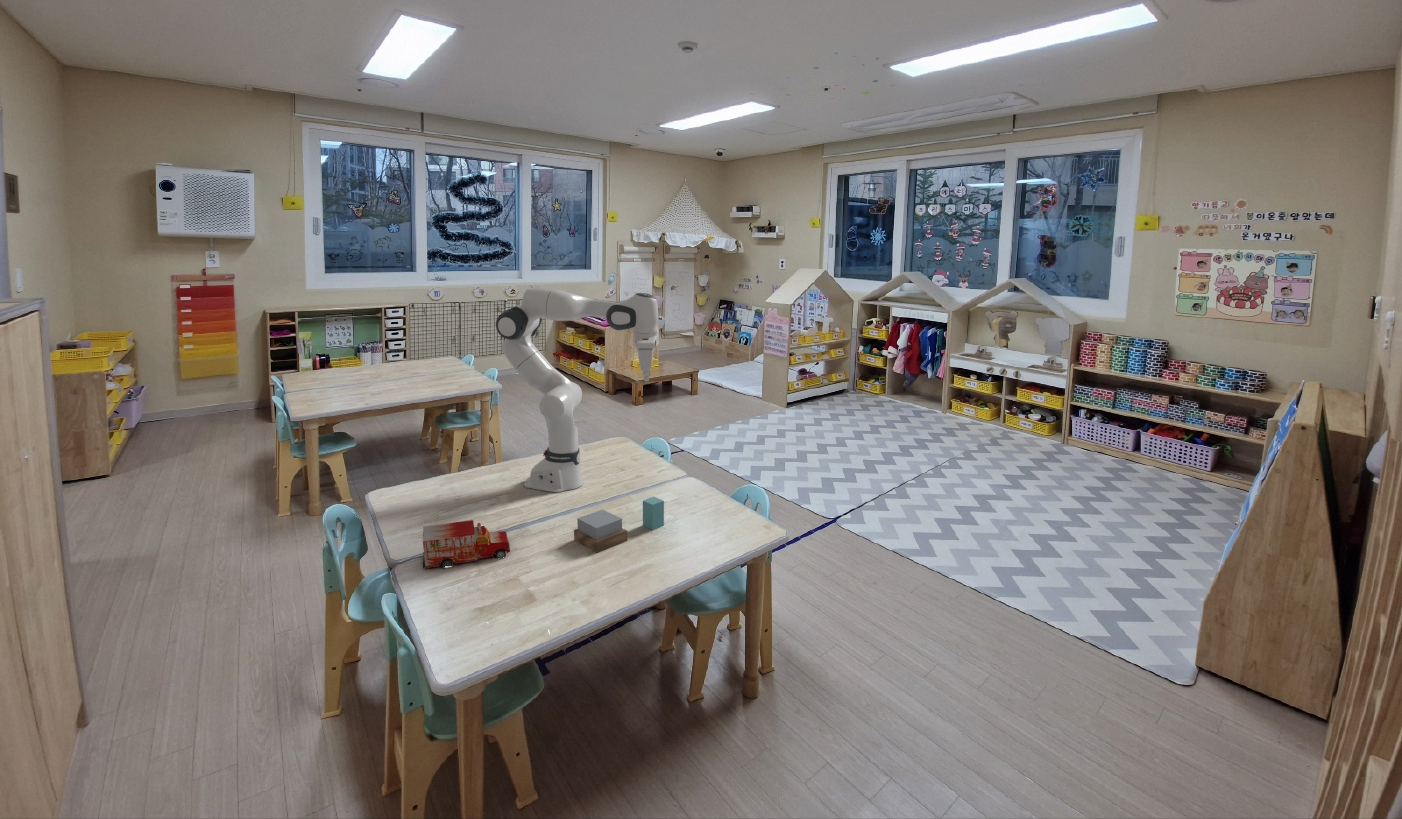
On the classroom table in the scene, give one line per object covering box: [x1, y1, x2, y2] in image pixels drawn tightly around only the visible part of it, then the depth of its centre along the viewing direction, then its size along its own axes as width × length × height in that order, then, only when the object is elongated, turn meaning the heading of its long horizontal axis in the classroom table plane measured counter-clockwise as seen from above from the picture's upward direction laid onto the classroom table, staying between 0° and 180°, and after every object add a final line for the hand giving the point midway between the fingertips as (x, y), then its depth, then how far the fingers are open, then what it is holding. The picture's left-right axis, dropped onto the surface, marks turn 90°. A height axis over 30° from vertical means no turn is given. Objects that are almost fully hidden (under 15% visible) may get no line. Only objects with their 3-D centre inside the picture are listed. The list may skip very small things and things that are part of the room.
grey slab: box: [576, 509, 623, 540], centre depth 211 cm, size 10×10×4 cm
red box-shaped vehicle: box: [422, 519, 511, 569], centre depth 199 cm, size 11×25×10 cm, turn 111°
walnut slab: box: [573, 527, 628, 554], centre depth 212 cm, size 12×12×4 cm
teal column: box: [642, 496, 665, 531], centre depth 222 cm, size 5×5×9 cm
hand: (647, 378), depth 238 cm, fingers open, 8 cm apart
